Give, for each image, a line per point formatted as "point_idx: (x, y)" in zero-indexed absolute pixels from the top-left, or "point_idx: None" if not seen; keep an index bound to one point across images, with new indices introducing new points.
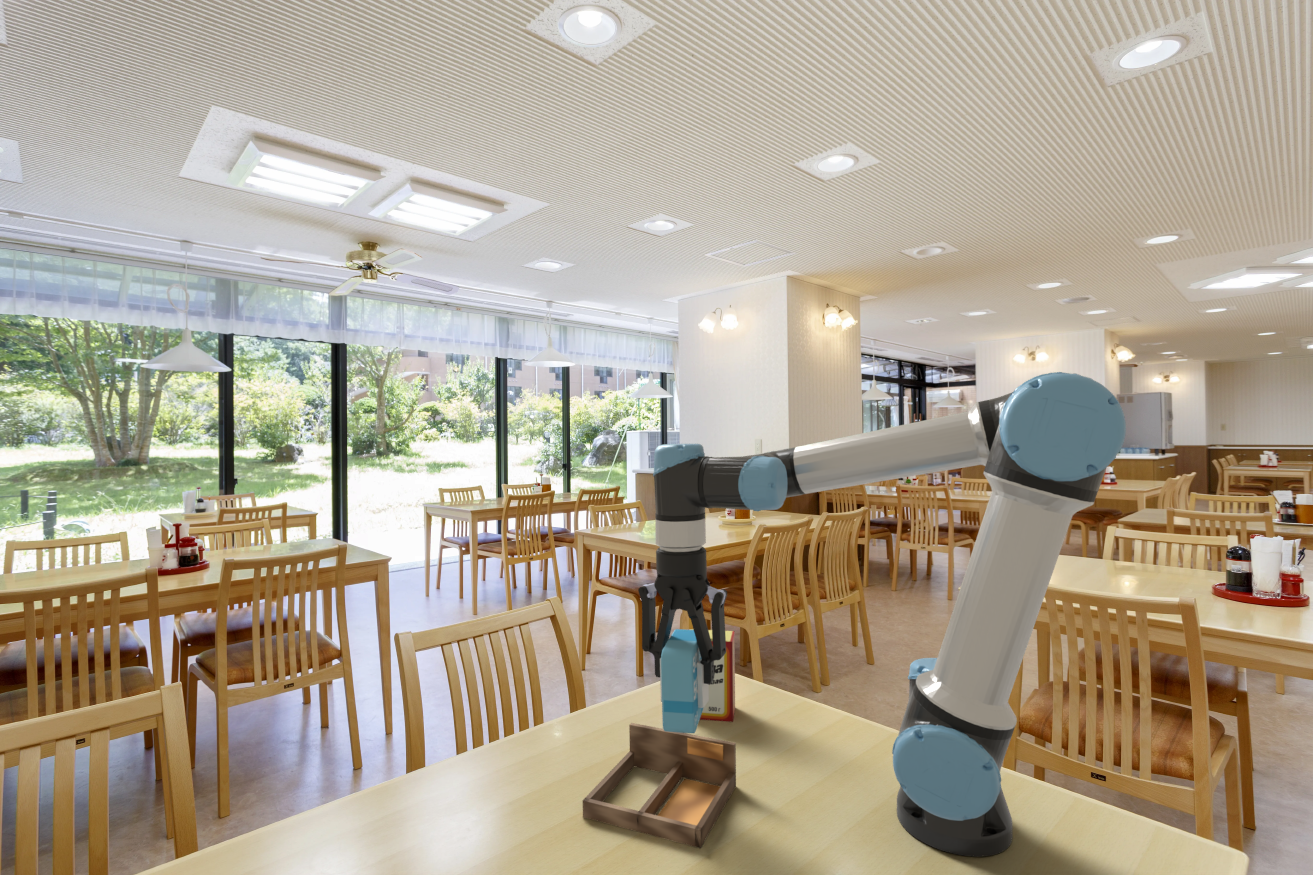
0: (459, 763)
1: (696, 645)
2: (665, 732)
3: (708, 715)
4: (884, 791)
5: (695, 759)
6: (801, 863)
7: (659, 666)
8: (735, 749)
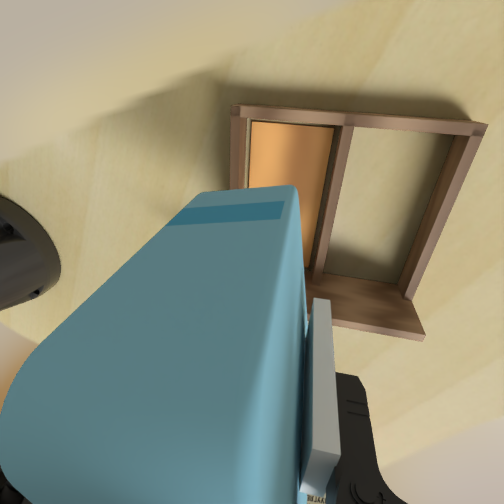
0: None
1: None
2: (344, 319)
3: None
4: (83, 285)
5: None
6: (105, 119)
7: (344, 416)
8: None
